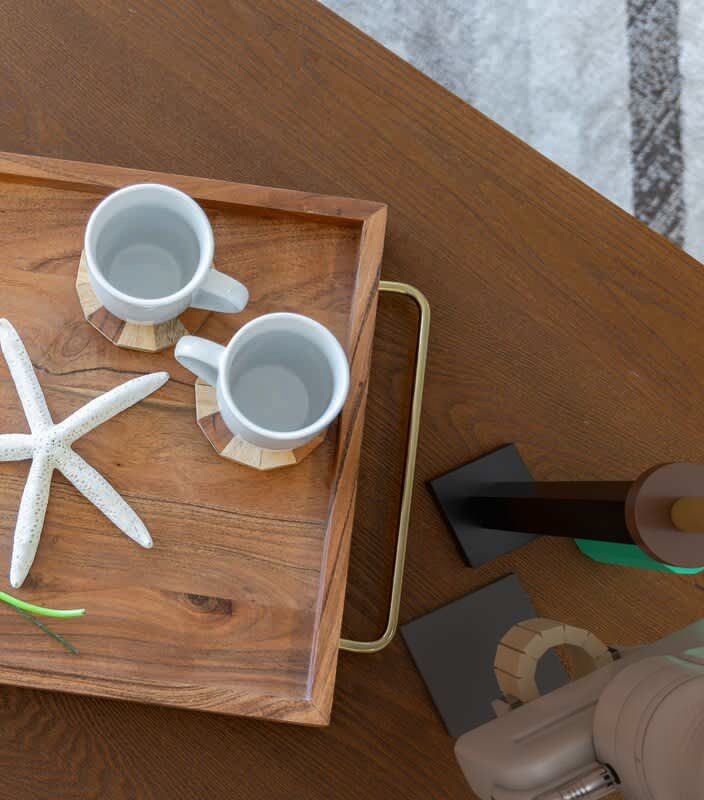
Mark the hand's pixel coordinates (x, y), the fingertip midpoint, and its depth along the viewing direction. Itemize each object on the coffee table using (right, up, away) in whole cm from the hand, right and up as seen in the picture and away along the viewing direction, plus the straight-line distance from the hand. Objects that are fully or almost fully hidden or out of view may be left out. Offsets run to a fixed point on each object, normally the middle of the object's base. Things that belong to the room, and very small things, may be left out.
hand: (556, 682), depth 62 cm
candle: (+11, +9, +14) cm, 20 cm away
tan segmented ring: (0, +1, +1) cm, 2 cm away
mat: (0, -2, +12) cm, 12 cm away
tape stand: (+1, +11, +13) cm, 17 cm away
